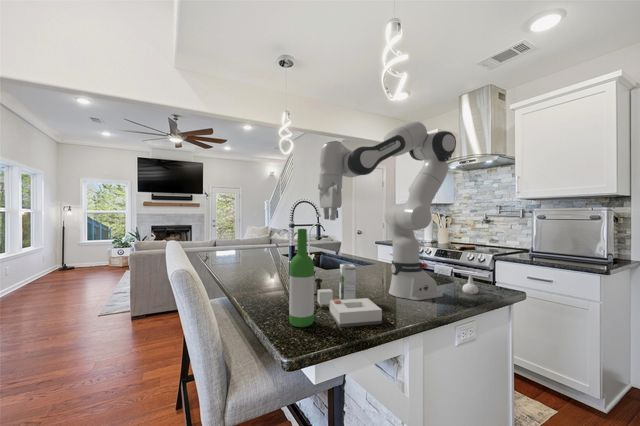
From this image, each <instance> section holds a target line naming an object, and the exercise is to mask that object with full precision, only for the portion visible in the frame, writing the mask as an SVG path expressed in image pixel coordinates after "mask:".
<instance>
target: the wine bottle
mask: <svg viewBox="0 0 640 426" xmlns="http://www.w3.org/2000/svg"><path fill="white" fill-rule="evenodd" d="M307 234H308V230H307V228H297V243H296V245H297V246H296V247H297V249H296V251H297V252H296V254H295V256H293V257H292V258H291V261H290V263H289V292H288V293H289V296H288V297H289V304H288V307H289V308H288V309H289V310H288V311H289V315H288V316H289V318H288V319H289V323H290V325H291V326H293V327H295V328H296V327H297V328H307V327H310V326H311V325H312V324H313V323H314V320H315V317H314V316H315V314H314V313H315V264H314V261H313V259H312V257H311V256H310V255H309V254H308V252H307V251H308V250H307V248H308V246H307V245H308V235H307Z"/></svg>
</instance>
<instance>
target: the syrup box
mask: <svg viewBox="0 0 640 426" xmlns="http://www.w3.org/2000/svg"><path fill="white" fill-rule="evenodd" d="M338 284H339V287H338V290H339V293H338V294H339V295H338V299H339V300H346V299H357V298H356V297H357V295H356V294H357V293H356V290H357V287H356V285H357V266H355V265H354V264H352V263H340V264H339V283H338Z"/></svg>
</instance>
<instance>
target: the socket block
mask: <svg viewBox="0 0 640 426" xmlns="http://www.w3.org/2000/svg"><path fill="white" fill-rule="evenodd" d="M329 315H330V317H332V319H333V320H334V322H335V323H336V324H337V325H338V327H339V328H348V327H357V326H370V325H372V326H373V325H380V324H383V323H382V321H383V309H382V308H380V307H379V306H378V305H377V304H375V302H373V301H372V300H370V299H369V298H368V297H366V298H365V297H364V298H355V299H346V300H339V298H335V299H334V298H333V300H330V308H329Z"/></svg>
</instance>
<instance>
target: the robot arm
mask: <svg viewBox="0 0 640 426" xmlns="http://www.w3.org/2000/svg"><path fill="white" fill-rule="evenodd" d="M456 146H457V139H456V136H455V134H453V132H451V131H446V130H442V131H437V132H433V133H429V132H428V130H427V127H426V126H425V124H423V123H422V122H420V121H414V122H409V123H406V124H404V125H401V126H398V127H396V128H394V129H391V131H389V132H388V133H386V134H385V136H384V137H383V141H382V142H379V143H378V144H376V145H374V146H359V147H357V148H355V149H354V150H351V149H348V148H347V147H346V146H345V145H344V144H343V143H342V141H339V140H334V141H328V142H326V143H324V144H323V145H322V147H321V150H320V158H319V166H320V172H319V181H318V182H319V183H318V184H317V185H318V188H317V190H319V206H320V208H321V209H323V219H324V220H329V221H336V216H337V211H338V209H339V208H342V204H343V201H342V200H343V199H342V198H343V197H342V196H343V195H342V191H343V190H342V189H343V177H347V178H355V177H356V178H357V177H359V176H365V175H366V176H367V175H370V174H371V173H373V172H374V171H375V169H376V168H377V167H378V165H379V164H380V163H382V162H383V161H385V160H387V159H388V158H390V157H399V156H402V155H404V154H407V153H409V156H410V157H411V158H412V160H413V159H414V160H416V161H421V162H422V161H424V162H423V166H422V167H421V169H420V170H419V171H418V174H417V175H416V176H415V178H414V179H413V181H412V183H411V184H410V186H409V188H408V192H409V195H408V198H407V200H406V202H405V203H400V204H398V203H397V204H394V205H391V206H390V207H388V208H386V210H385V212H384V220H385V222H386V223H387V225H388V228H389V232H390V236H391V242H392V260H391V279H390V280H391V281H390V284H389V285H390V286H389V289H388V294H389V295H390V296H394V297H396V298H401V299H408V300H412V301H421V300H422V301H423V300H428V299H430V300H431V299H435V298H442V297H444V293H443V292H442V291H440V290H438V286H437V285H438V284H437V281H436V280H435V279H434V278H433V277H431V275H430V274H428V273H427V272H426V271H424V269H427V268H428V263H425V262H423V263H422V262H420V243H419V241H418V240H417V238H416V236H415V232H414V231H419V230H424V229H426V228H427V227H429V225H431V222H432V212H431V205H432V202H433V200H434V198H435V197H436V195H437V193H438V191H439V190H440V188H441V187H442V185H443V183H444V181H445V179H446V177H447V174H448V171H449V163H448V162H447V161H449V160H451V158H452V156H453V154H454V152H455V149H456ZM423 268H424V269H423Z"/></svg>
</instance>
